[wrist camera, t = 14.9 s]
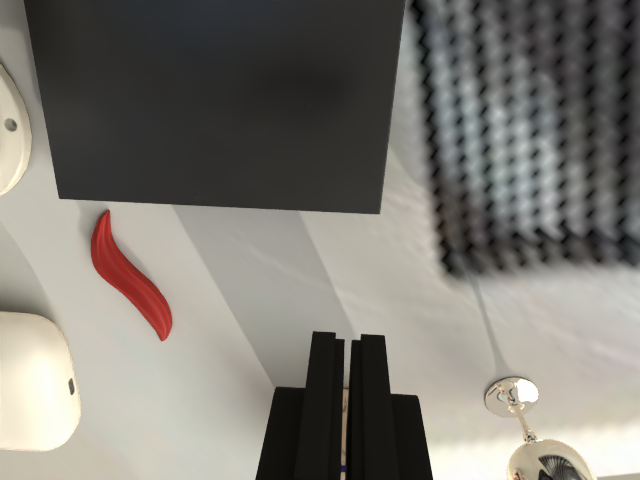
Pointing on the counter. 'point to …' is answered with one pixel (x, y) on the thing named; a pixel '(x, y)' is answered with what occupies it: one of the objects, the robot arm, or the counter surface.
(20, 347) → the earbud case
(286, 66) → the laptop screen
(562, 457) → the wineglass
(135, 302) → the cayenne pepper
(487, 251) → the counter surface
